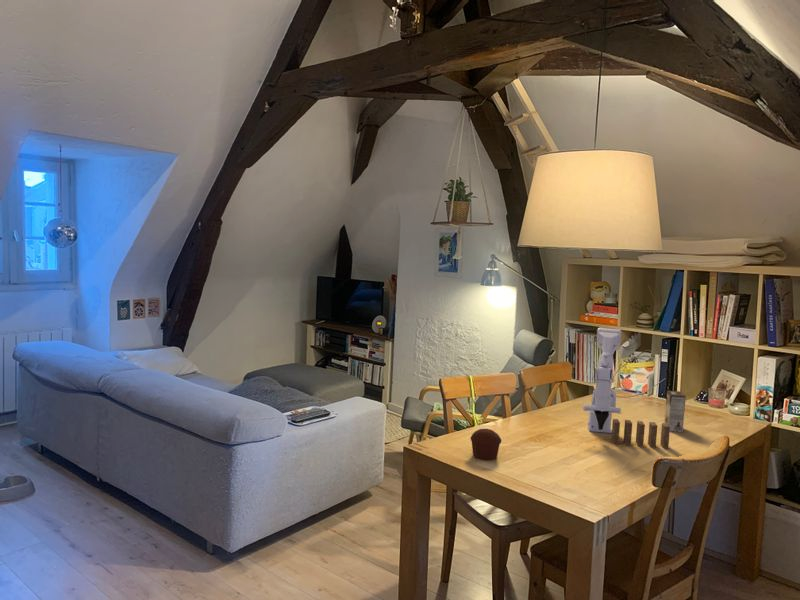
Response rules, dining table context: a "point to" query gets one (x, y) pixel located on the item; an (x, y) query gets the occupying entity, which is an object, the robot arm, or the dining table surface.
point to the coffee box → (675, 410)
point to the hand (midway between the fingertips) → (600, 429)
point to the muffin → (485, 444)
